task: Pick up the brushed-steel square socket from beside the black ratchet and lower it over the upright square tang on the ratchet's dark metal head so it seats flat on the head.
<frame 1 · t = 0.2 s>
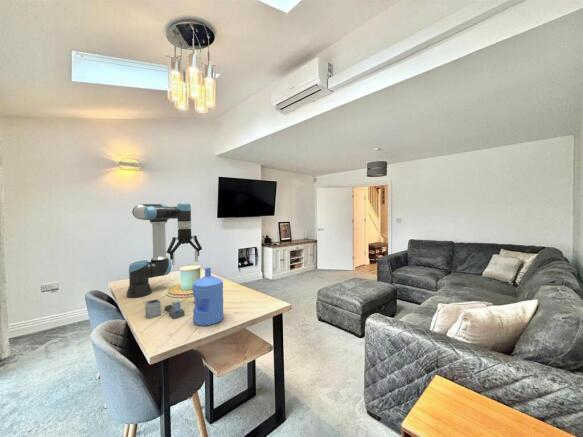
hand: (185, 263, 148), 27 cm above the table, tool pointing down, fingers open, 13 cm apart
water jug: (208, 320, 131), on the table
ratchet: (173, 313, 140), on the table
jar: (201, 301, 159), on the table
socket: (153, 315, 137), on the table
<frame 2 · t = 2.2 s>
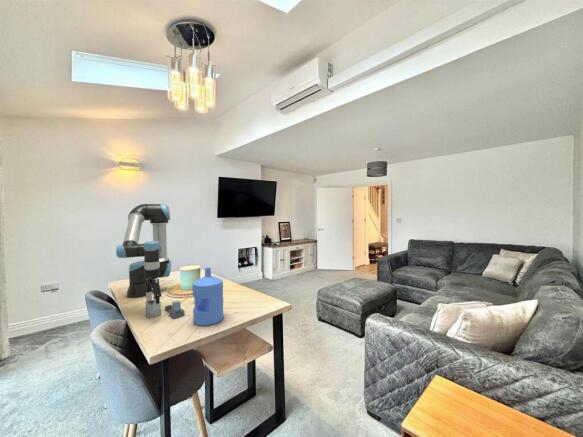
hand: (153, 306, 137), 6 cm above the table, tool pointing down, fingers open, 13 cm apart
nothing on the table moved.
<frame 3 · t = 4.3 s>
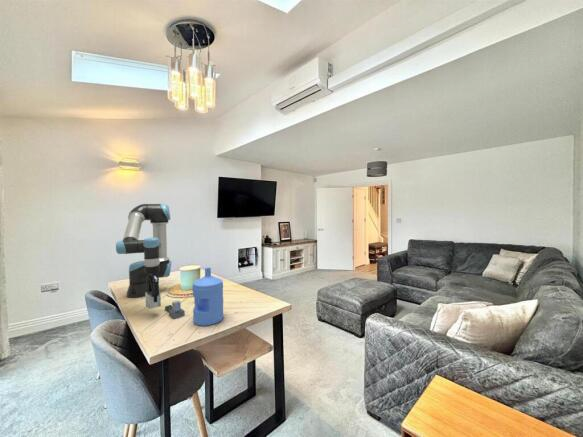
hand: (153, 305, 137), 6 cm above the table, tool pointing down, fingers closed on socket, 6 cm apart
socket: (153, 306, 137), point 5 cm above the table, touching gripper
everything else where it was.
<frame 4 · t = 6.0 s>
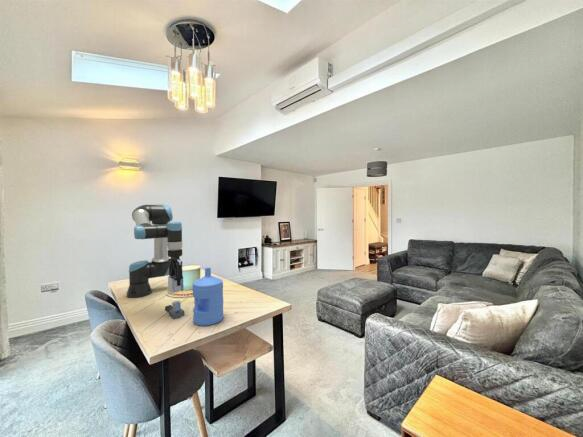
hand: (175, 290, 136), 15 cm above the table, tool pointing down, fingers closed on socket, 6 cm apart
socket: (175, 290, 136), point 14 cm above the table, touching gripper
everything else where it was.
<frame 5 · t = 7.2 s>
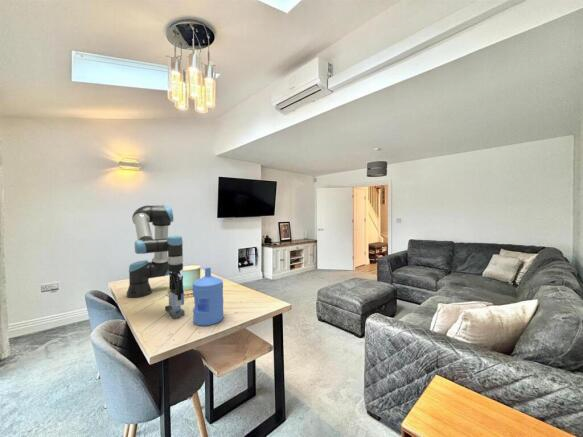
hand: (176, 304, 136), 7 cm above the table, tool pointing down, fingers closed on socket, 6 cm apart
socket: (176, 304, 136), point 6 cm above the table, touching gripper
everything else where it was.
when the fingers open (4 cm above the table, at t = 7.9 s): socket drops 1 cm, resting on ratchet.
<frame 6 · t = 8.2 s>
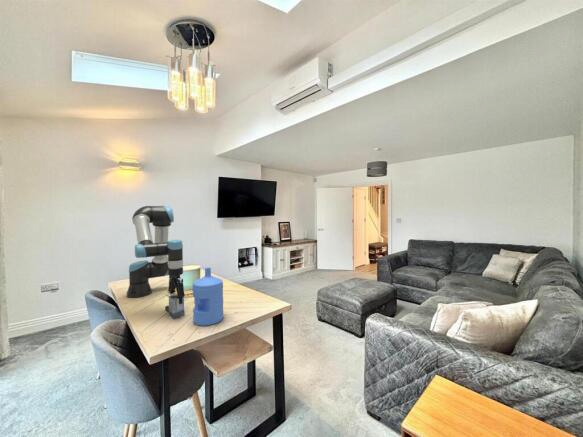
hand: (176, 306, 137), 5 cm above the table, tool pointing down, fingers open, 9 cm apart
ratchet: (173, 313, 140), on the table, touching socket
socket: (176, 310, 137), point 3 cm above the table, touching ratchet
everything else where it was.
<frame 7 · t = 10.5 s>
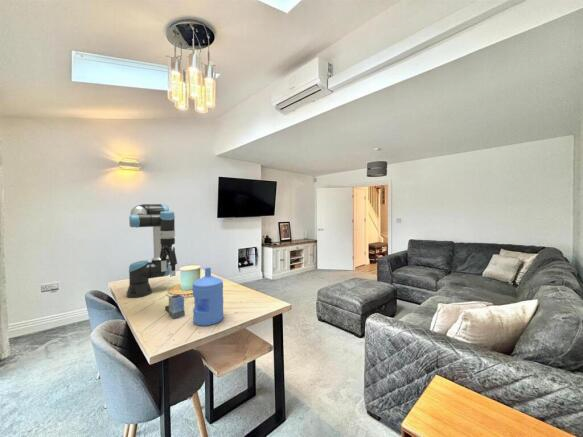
hand: (168, 273, 142), 22 cm above the table, tool pointing down, fingers open, 13 cm apart
nothing on the table moved.
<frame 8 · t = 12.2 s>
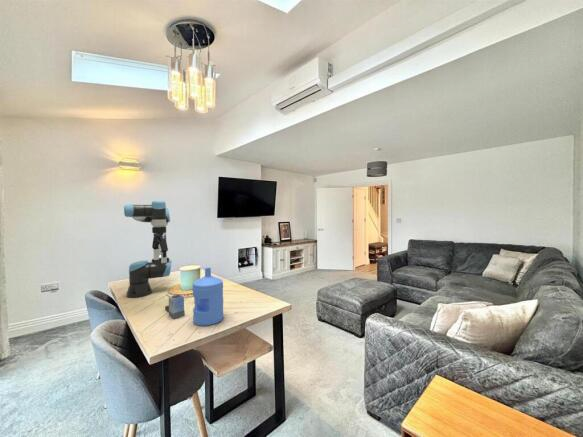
hand: (160, 261, 148), 29 cm above the table, tool pointing down, fingers open, 13 cm apart
nothing on the table moved.
at the end: socket 0.0 cm from the target spot on the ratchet, point 3.0 cm above the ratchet's base; socket tilted 0°; the gripper is holding nothing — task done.
